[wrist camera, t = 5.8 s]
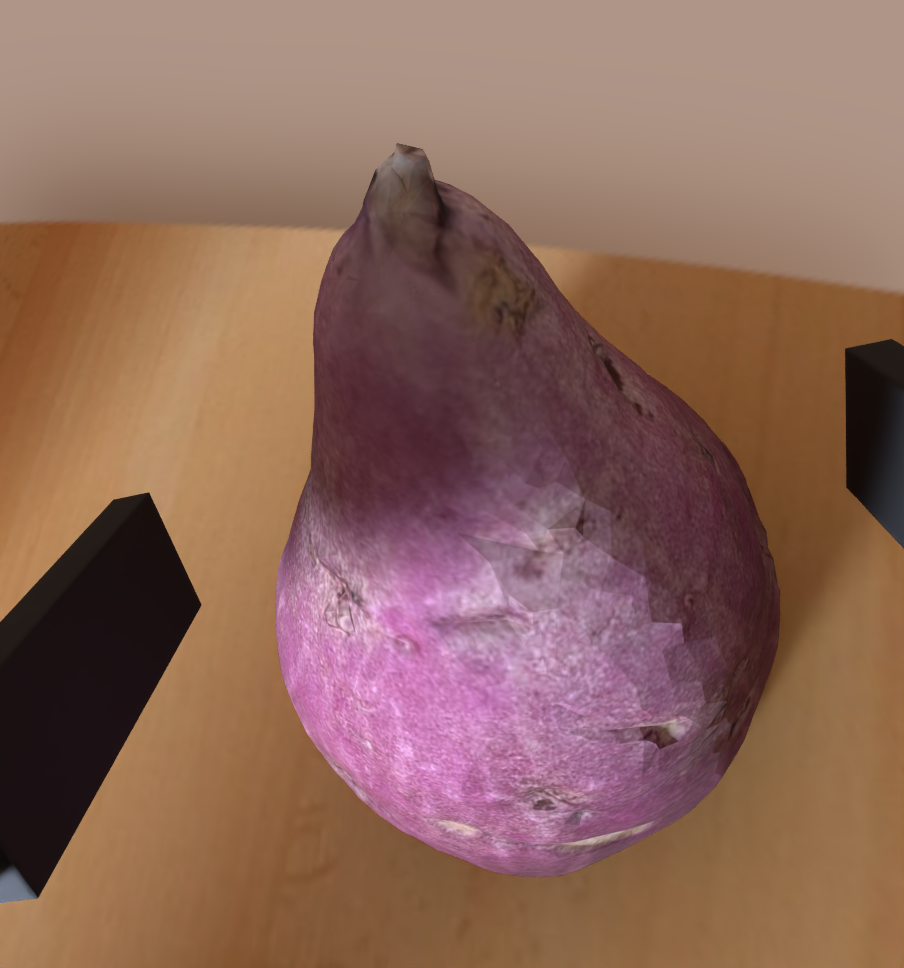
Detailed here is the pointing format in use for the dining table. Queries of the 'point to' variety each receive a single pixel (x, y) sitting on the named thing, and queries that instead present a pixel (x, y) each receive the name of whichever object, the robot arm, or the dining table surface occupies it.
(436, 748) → the vegetable
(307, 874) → the dining table surface
